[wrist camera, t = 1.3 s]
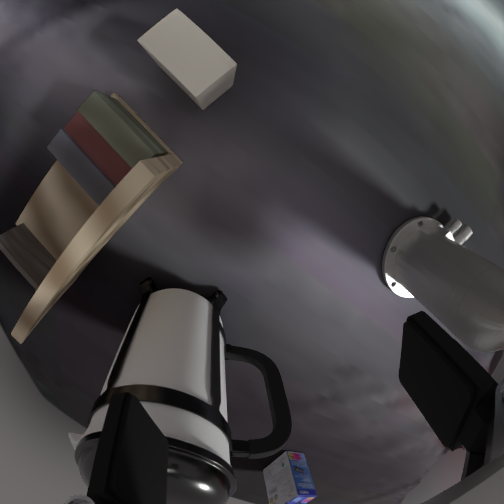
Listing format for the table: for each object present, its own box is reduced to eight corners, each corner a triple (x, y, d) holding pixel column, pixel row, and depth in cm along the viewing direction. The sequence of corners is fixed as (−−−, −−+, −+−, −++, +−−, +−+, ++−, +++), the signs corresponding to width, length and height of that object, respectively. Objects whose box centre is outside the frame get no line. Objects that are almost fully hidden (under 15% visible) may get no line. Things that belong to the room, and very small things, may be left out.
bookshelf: (117, 94, 30) (54, 68, 15) (183, 162, 34) (154, 176, 19) (21, 221, 33) (-50, 261, 19) (75, 280, 37) (21, 344, 23)
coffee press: (171, 377, 44) (151, 558, 16) (107, 298, 38) (10, 488, 10) (271, 333, 43) (325, 537, 15) (214, 239, 37) (208, 480, 9)
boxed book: (188, 41, 29) (176, 8, 19) (232, 85, 31) (237, 63, 22) (158, 66, 29) (136, 40, 20) (202, 110, 32) (195, 97, 22)
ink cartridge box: (281, 472, 58) (291, 521, 44) (261, 469, 56) (269, 521, 43) (306, 452, 55) (321, 505, 42) (285, 449, 54) (298, 505, 40)
